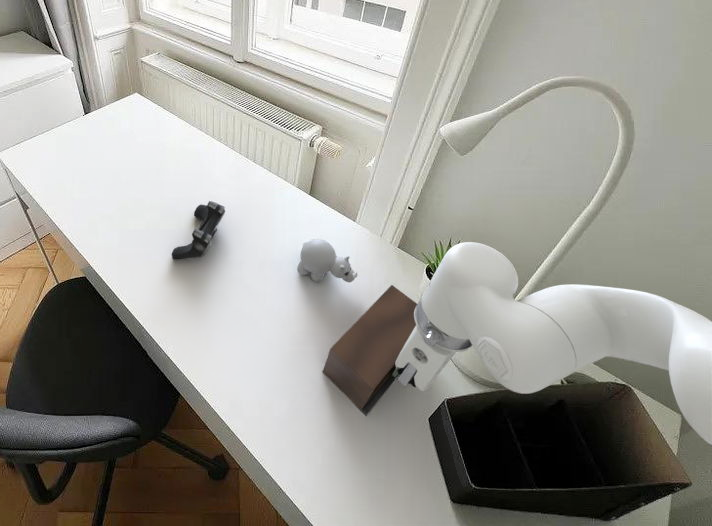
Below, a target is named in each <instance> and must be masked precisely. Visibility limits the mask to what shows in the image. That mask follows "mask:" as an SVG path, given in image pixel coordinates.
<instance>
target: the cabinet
mask: <svg viewBox="0 0 712 526" xmlns="http://www.w3.org/2000/svg"><path fill="white" fill-rule="evenodd" d="M417 304H418V302H416V301H414V300H413V299H412V298H410V297H409V296H408V295H406V294H405V293H404V292H402V291H401V290H400V289H398V288H397V287H396V286H394V285H393V284H391V285H390V286H389V287H388V288H387V289H386V290H385V291H384V292H383V293H382V294H381V295H380V296H378V298H377V299H376V300H375V302H373V304H372V305H370V307H369V308H368V309H366V311H365V312H363V314H362V315H361V316H360V317H359V318H358V319H357V320H356V321H355V322H354V323H353V324H352V325H351V326H350V327H349V328H348V330H346V332H345V333H343V335H342V336H341V337H340V338H339V339H338V340H337V341H336V342H335V343H334V344H333V345H332V346H331V347H330V349H329V351H328V354H327V357H326V360H325V363H324V366H323V369H322V373H323V374H324V375H325V376H326V378H327V379H329V380H330V382H332V383H333V385H335V386H336V387H337V388H338V390H340V391H341V392H342V394H344V396H345V397H346V398H348V399H349V401H350V402H351V403H352V404H353V405H354V406H356V407H357V408H358V410H360V411H361V413H363V415H364V416H365V417H367V416H368V415H369V414H370V413H371V411H372V410H373V408H375V406H376V405H377V404H378V402H380V400H381V398H382V397H383V396H384V395H385V393H386V392H387V391H388V390H389V389H390V388H391V386H392V385H393V383H394V382H395V381H396V380H397V378H399V377H400V376H401V375H400V374H397V376H396V377H394V376H393V375H392V374H393V372H394V370H395V369H396V366H395V362H396V360H397V358H398V356H399V354H400V352H401V350H402V349H403V347H404V345H405V343H406V341H407V340H408V338H409V336H410V335H411V333H412V331H413V330H414V328H415V326H416V323H415V319H414V310H415V308H416V306H417Z"/></svg>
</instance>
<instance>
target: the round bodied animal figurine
mask: <svg viewBox="0 0 712 526" xmlns="http://www.w3.org/2000/svg"><path fill="white" fill-rule="evenodd" d="M349 259H350V256H346V257H342V256H337V253H336V251H335V249H334V247H333V245H331V243H330V242H328V241H327V240H324V239H322V238H313V239H310V240H308V241H307V242H306V241H305V242H304V243H303V244H302V247H301V250H300V262H298V264H297V267H296V268H297V272H298V274H300V275H302V276H306V275H308V274H309V273H310V278H311V280H312V281H313V282H317V283H319V282H322V281H323V280H324V277H325V274H327V273H329V272H330V273H331V275H332V276H333V277H335V278H337V279H341V280H343V281H344V282H346V283H352V282H353V281H355V279H356V278H357V277H358V272H355V271H354V270H353V269H352V267H351V263H350V261H349Z"/></svg>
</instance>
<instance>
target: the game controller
mask: <svg viewBox="0 0 712 526" xmlns="http://www.w3.org/2000/svg"><path fill="white" fill-rule="evenodd" d="M225 209H226V207H225V206H224V205H221V204H219V203H217V202H215V201H212V200H211V201H210V200H208V203H207V204H199V205H198V206H196V208H195V210H194V211H193V216H194V217H195V219H198V220H199V221H201V224H200V226H199V227H198V228H194V229H193V231H192V233H191V236H192V241H191V242H190V243H188V244H186V245H180V246H176V247H175V248H173V250H172V252H171V259H172V260H174V261H179V260H180V261H181V260H187V259H193V258H202V257H203V256H204V255H205V254H206V252H207V251H209V249H211V246H212V240H213V239H212V238H214V237H216V235H217V233H218V231H219V230H218V228H217V227H218V225H219V224H220V222H221V221H222V219H223V217H224V215H225V213H226V210H225Z"/></svg>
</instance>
